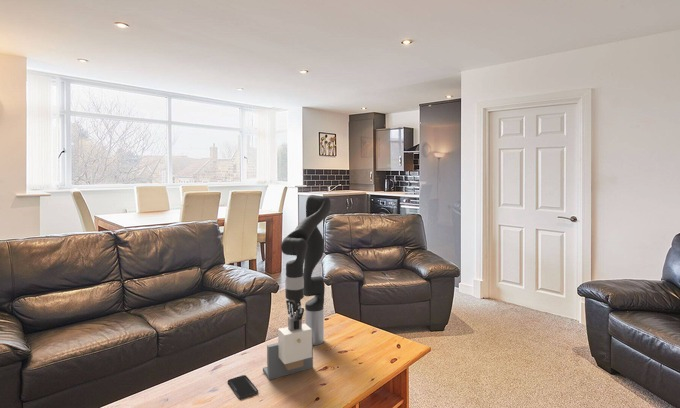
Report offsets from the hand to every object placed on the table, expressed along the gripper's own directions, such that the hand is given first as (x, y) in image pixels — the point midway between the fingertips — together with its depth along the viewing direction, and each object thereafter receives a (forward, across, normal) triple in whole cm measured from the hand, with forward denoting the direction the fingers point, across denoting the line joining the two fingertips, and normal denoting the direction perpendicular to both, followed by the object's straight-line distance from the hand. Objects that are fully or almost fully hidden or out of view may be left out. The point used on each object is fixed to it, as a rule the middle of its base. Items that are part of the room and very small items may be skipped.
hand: (294, 327), depth 154 cm
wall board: (+22, +5, 0) cm, 22 cm away
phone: (+22, +4, +21) cm, 31 cm away
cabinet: (+13, 0, 0) cm, 13 cm away
